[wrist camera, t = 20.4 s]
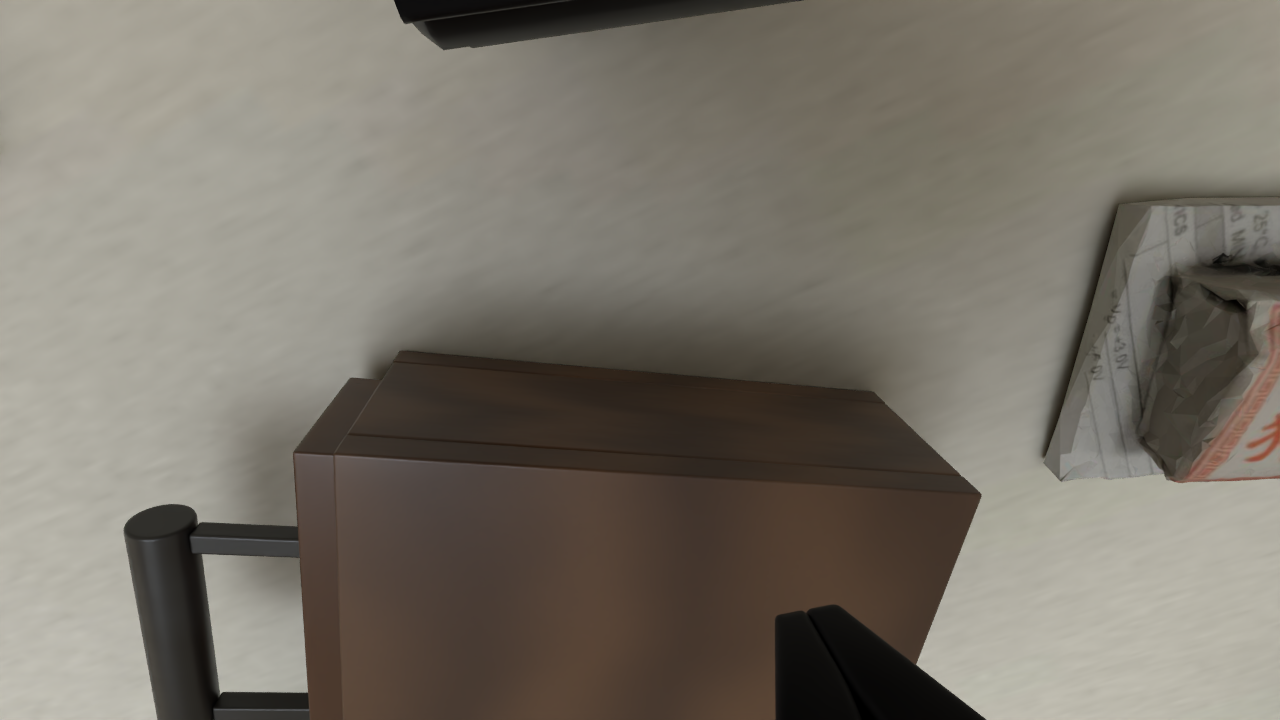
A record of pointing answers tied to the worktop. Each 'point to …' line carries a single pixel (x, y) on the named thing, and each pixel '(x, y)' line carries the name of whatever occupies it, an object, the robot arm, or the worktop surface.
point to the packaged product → (1180, 348)
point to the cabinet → (620, 538)
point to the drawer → (175, 544)
